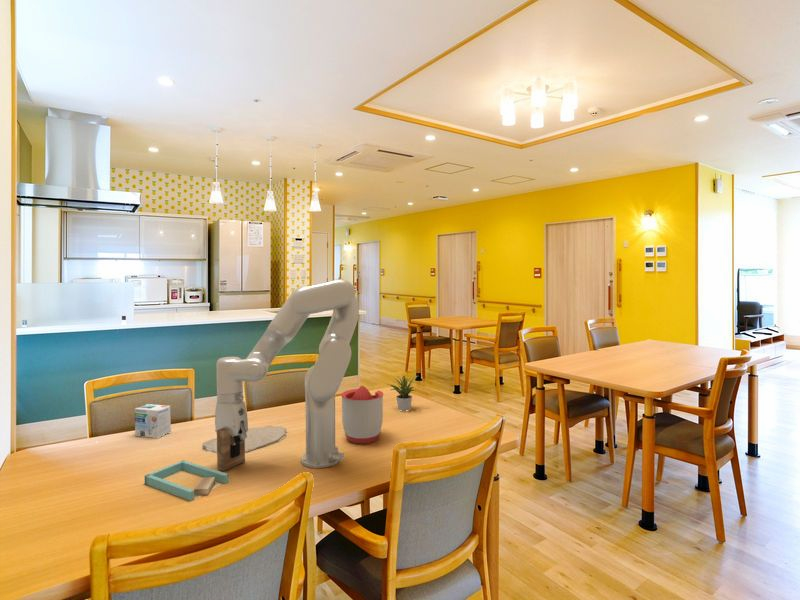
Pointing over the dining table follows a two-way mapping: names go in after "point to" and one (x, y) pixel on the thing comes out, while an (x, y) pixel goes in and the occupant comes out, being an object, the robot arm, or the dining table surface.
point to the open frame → (178, 490)
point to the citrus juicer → (362, 415)
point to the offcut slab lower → (212, 488)
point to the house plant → (403, 393)
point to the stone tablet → (254, 438)
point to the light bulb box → (152, 420)
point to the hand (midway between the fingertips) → (231, 454)
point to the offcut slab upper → (204, 486)
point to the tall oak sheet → (227, 451)
